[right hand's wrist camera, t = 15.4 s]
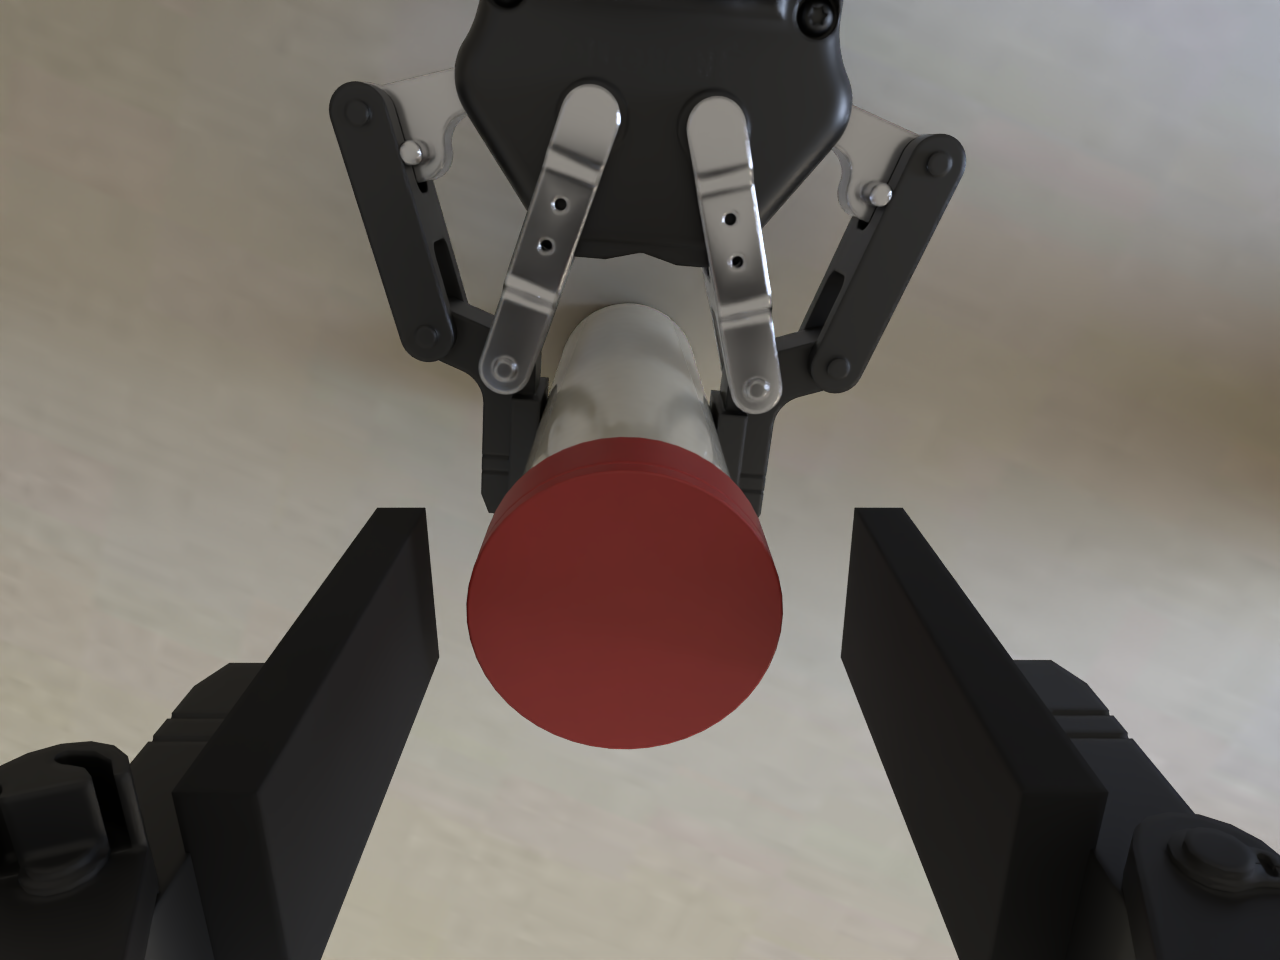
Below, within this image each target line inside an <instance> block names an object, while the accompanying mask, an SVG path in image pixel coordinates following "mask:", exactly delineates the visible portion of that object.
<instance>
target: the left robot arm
mask: <svg viewBox="0 0 1280 960" xmlns="http://www.w3.org/2000/svg"><path fill="white" fill-rule="evenodd" d="M842 5H843V0H480V1H479V5H478V9H477V13H476V16H475V19H474V22H473V24H472V26H471V29H470V31H469V33H468V34H467V36H466V38H465V40H464V41H463V43H462V45H461V47H460V49H459V51H458V54H457V58H456V62H455V68H451V69H447V70H443V71H439V72H434V73H430V74H426V75H422V76H418V77H414V78H410V79H406V80H402V81H397V82H393V83H389V84H385V85H378V84H374V83H369V82H357V81H354V82H348V83H345V84H343V85H341V86H340V87H338V89H337V90H336V91H335V92H334V94H333V95H332V97H331V100H330V104H329V114H330V119H331V122H332V125H333V128H334V132H335V135H336V138H337V141H338V144H339V147H340V150H341V154H342V157H343V160H344V163H345V166H346V169H347V173H348V176H349V179H350V182H351V185H352V188H353V191H354V195H355V198H356V201H357V204H358V207H359V210H360V213H361V217H362V220H363V223H364V226H365V229H366V232H367V235H368V239H369V242H370V245H371V248H372V251H373V254H374V257H375V261H376V264H377V267H378V270H379V273H380V276H381V279H382V283H383V286H384V289H385V292H386V295H387V298H388V302H389V305H390V308H391V311H392V314H393V317H394V320H395V324H396V327H397V330H398V333H399V336H400V339H401V342H402V345H403V347H404V348H405V350H406V351H407V352H408V353H409V354H410V355H411V356H412V357H414V358H415V359H417V360H420V361H424V362H434V361H438V360H439V361H441V362H443V363H446V364H448V365H450V366H453V367H455V368H457V369H459V370H462V371H464V372H466V373H467V374H469V375H470V376H471V377H472V378H473V379H474V380H475V381H476V382H477V384H478V385H479V387H480V389H481V392H482V395H483V442H482V483H481V494H482V497H483V499H484V502H485V504H486V507H487V509H488V512H489V513H495V511H496V509H497V508H498V506H499V504H500V503H501V501H502V500H503V498H504V496H505V495H506V494H507V492H508V491H509V490H510V489H511V488H512V486H513V485H514V484H515V483H516V482H517V481H518V480H519V479H520V478H521V477H522V475H523V472H524V469H525V466H526V463H527V460H528V457H529V454H530V451H531V448H532V445H533V442H534V439H535V436H536V433H537V430H538V427H539V424H540V420H541V417H542V414H543V411H544V408H545V405H546V402H547V399H548V381H549V378H546V377H540V373H541V350H542V347H543V345H544V342H545V339H546V336H547V333H548V331H549V328H550V325H551V322H552V320H553V317H554V314H555V311H556V308H557V306H558V303H559V300H560V297H561V295H562V292H563V289H564V287H565V284H566V281H567V279H568V276H569V273H570V270H571V267H572V265H573V262H574V259H575V257H587V258H599V259H609V258H614V257H619V256H625V255H630V254H636V253H645V254H648V255H650V256H653V257H656V258H658V259H661V260H664V261H667V262H669V263H672V264H675V265H681V266H692V267H702V272H703V277H704V283H705V288H706V293H707V297H708V301H709V306H710V311H711V316H712V322H713V327H714V333H715V339H716V344H717V350H718V355H719V361H720V366H721V371H722V379H721V387H720V391H716V390H711V396H710V405H709V407H710V411H711V414H712V417H713V421H714V424H715V427H716V431H717V434H718V438H719V441H720V444H721V448H722V451H723V454H724V458H725V461H726V464H727V468H728V471H729V474H730V478H731V480H732V481H733V482H734V483H735V484H736V485H737V486H738V487H739V488H740V489H741V491H742V492H743V493H744V495H745V496H746V498H747V499H748V500H749V502H750V503H751V505H752V507H753V509H754V511H755V513H756V515H757V517H759V516H760V514H761V507H762V500H763V491H764V486H765V479H766V478H765V477H766V472H767V465H768V458H769V451H770V444H771V437H772V430H773V424H774V420H775V417H776V415H777V413H778V412H779V410H780V409H781V408H782V407H783V406H784V405H785V404H786V403H788V402H789V401H791V400H793V399H794V398H797V397H801V396H804V395H808V394H812V393H816V392H820V391H826V392H829V393H842V392H845V391H847V390H849V389H851V388H852V387H853V386H855V385H856V384H857V382H858V381H859V379H860V378H861V376H862V374H863V372H864V370H865V368H866V366H867V364H868V362H869V360H870V358H871V356H872V354H873V352H874V350H875V348H876V346H877V344H878V342H879V340H880V338H881V336H882V334H883V332H884V330H885V328H886V326H887V324H888V322H889V320H890V318H891V316H892V314H893V312H894V310H895V308H896V306H897V304H898V302H899V300H900V298H901V296H902V294H903V293H904V291H905V289H906V287H907V285H908V283H909V281H910V279H911V277H912V275H913V273H914V271H915V269H916V267H917V265H918V263H919V261H920V259H921V257H922V255H923V253H924V251H925V249H926V247H927V245H928V243H929V241H930V239H931V237H932V235H933V233H934V231H935V229H936V227H937V225H938V223H939V221H940V219H941V217H942V215H943V213H944V211H945V209H946V207H947V205H948V203H949V201H950V199H951V197H952V195H953V193H954V191H955V189H956V187H957V185H958V183H959V181H960V179H961V177H962V175H963V173H964V170H965V166H966V155H965V151H964V148H963V146H962V145H961V143H960V142H959V141H958V140H957V139H956V138H954V137H952V136H950V135H947V134H921V135H918V134H915V133H913V132H911V131H909V130H907V129H904V128H902V127H900V126H898V125H896V124H893V123H891V122H889V121H887V120H885V119H882V118H880V117H878V116H876V115H874V114H871V113H869V112H867V111H865V110H863V109H860V108H858V107H856V106H854V105H852V90H851V85H850V82H849V79H848V76H847V73H846V71H845V68H844V64H843V61H842V56H841V50H840V40H839V29H840V19H841V12H842ZM466 116H468V117H469V118H470V120H471V121H472V123H473V125H474V126H475V128H476V129H477V131H478V133H479V134H480V136H481V137H482V139H483V141H484V142H485V144H486V146H487V147H488V149H489V150H490V152H491V154H492V155H493V157H494V158H495V160H496V162H497V163H498V165H499V166H500V168H501V170H502V171H503V173H504V174H505V176H506V178H507V179H508V181H509V182H510V184H511V186H512V187H513V189H514V190H515V192H516V194H517V195H518V197H519V198H520V200H521V202H522V203H523V205H524V207H525V208H526V210H527V214H526V217H525V220H524V223H523V226H522V229H521V232H520V235H519V238H518V241H517V244H516V247H515V250H514V253H513V256H512V259H511V262H510V265H509V268H508V271H507V274H506V277H505V281H504V285H503V291H502V295H501V298H500V301H499V304H498V307H497V310H496V313H495V316H494V315H492V314H490V313H488V312H485V311H483V310H481V309H479V308H477V307H474V306H472V305H470V304H468V301H467V298H466V294H465V291H464V287H463V284H462V280H461V277H460V273H459V270H458V266H457V263H456V259H455V256H454V252H453V249H452V245H451V242H450V238H449V235H448V231H447V228H446V224H445V221H444V217H443V214H442V210H441V207H440V203H439V200H438V196H437V193H436V189H435V186H434V182H433V180H435V179H438V178H440V177H442V176H443V175H444V174H445V173H446V172H447V171H448V170H449V168H450V166H451V164H452V160H453V148H452V136H453V132H454V129H455V127H456V126H457V124H458V123H459V122H460V121H461V120H462V119H463V118H465V117H466ZM830 150H832V151H833V152H834V153H835V154H836V155H837V157H838V159H839V161H840V164H841V170H842V174H841V180H840V183H839V186H838V201H839V204H840V206H841V208H842V209H843V210H844V211H845V212H846V213H847V214H848V215H850V216H852V218H851V220H850V222H849V224H848V227H847V229H846V231H845V233H844V235H843V237H842V239H841V241H840V244H839V246H838V248H837V250H836V252H835V254H834V256H833V258H832V261H831V263H830V265H829V267H828V269H827V271H826V273H825V276H824V278H823V280H822V282H821V284H820V286H819V288H818V290H817V293H816V295H815V297H814V299H813V301H812V303H811V305H810V307H809V310H808V312H807V314H806V316H805V318H804V320H803V322H802V325H801V327H800V329H799V331H798V332H795V333H791V334H788V335H784V336H780V337H776V338H775V334H774V328H773V322H772V298H771V291H770V284H769V278H768V271H767V265H766V258H765V252H764V245H763V239H762V232H761V229H762V228H763V227H764V226H765V224H766V223H767V222H768V221H769V220H770V219H771V218H772V216H773V215H774V214H775V213H776V212H777V211H778V210H779V208H780V207H781V206H782V205H783V204H784V203H785V202H786V200H787V199H788V198H789V197H790V196H791V195H792V194H793V193H794V191H795V190H796V189H797V188H798V187H799V186H800V185H801V183H802V182H803V181H804V180H805V179H806V178H807V177H808V175H809V174H810V173H811V172H812V171H813V170H814V169H815V168H816V166H817V165H818V164H819V163H820V162H821V161H822V160H823V158H824V157H825V156H826V155H827V154H828V153H829V152H830Z"/></svg>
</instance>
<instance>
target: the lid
mask: <svg viewBox="0 0 1280 960" xmlns="http://www.w3.org/2000/svg"><path fill="white" fill-rule="evenodd" d="M466 606H467V625H468V630H469V636H470V641H471V644H472V647H473V650H474V652H475V655H476V658H477V660H478V662H479V664H480V666H481V668H482V670H483V672H484V674H485V676H486V677H487V678H488V680H489V681H490V683H491V684H492V686H493V687H494V689H495V690H496V691H497V692H498V693H499V694H500V696H501V697H502V698H503V699H504V700H505V701H506V702H507V703H508V704H509V705H510V706H511V707H512V708H514V709H515V710H516V711H517V712H518V713H519V714H521V715H522V716H523V717H525V718H526V719H528V720H529V721H531V722H532V723H534V724H535V725H537V726H538V727H540V728H542V729H544V730H546V731H548V732H550V733H552V734H554V735H557V736H559V737H562V738H565V739H567V740H570V741H573V742H577V743H581V744H585V745H589V746H594V747H602V748H609V749H638V748H649V747H655V746H660V745H665V744H669V743H673V742H676V741H679V740H682V739H685V738H688V737H690V736H692V735H695V734H697V733H699V732H702V731H704V730H706V729H707V728H709V727H711V726H712V725H714V724H716V723H717V722H719V721H721V720H722V719H723V718H725V717H726V716H727V715H729V714H730V713H731V712H733V711H734V710H735V709H736V708H737V707H738V706H739V705H740V704H741V703H742V702H743V701H744V700H745V699H746V698H747V697H748V696H749V695H750V694H751V693H752V691H753V690H754V689H755V688H756V686H757V685H758V684H759V682H760V681H761V679H762V677H763V676H764V674H765V672H766V671H767V669H768V667H769V665H770V663H771V661H772V658H773V656H774V653H775V651H776V648H777V645H778V641H779V637H780V633H781V626H782V617H783V604H782V592H781V587H780V581H779V576H778V574H777V571H776V568H775V565H774V562H773V559H772V556H771V553H770V550H769V547H768V544H767V541H766V538H765V536H764V533H763V530H762V527H761V524H760V521H759V519H758V517H757V515H756V513H755V511H754V509H753V507H752V505H751V503H750V502H749V500H748V499H747V498H746V496H745V495H744V493H743V492H742V491H741V489H740V488H739V487H738V486H737V485H736V484H735V483H734V482H733V481H732V480H731V479H730V478H729V476H728V475H726V474H725V473H724V472H723V471H721V470H720V469H719V468H718V467H716V466H715V465H714V464H713V463H711V462H709V461H708V460H706V459H704V458H703V457H701V456H699V455H698V454H696V453H693V452H691V451H689V450H687V449H684V448H682V447H680V446H677V445H673V444H670V443H667V442H663V441H660V440H653V439H647V438H641V437H612V438H601V439H597V440H592V441H587V442H583V443H580V444H577V445H574V446H571V447H568V448H566V449H563V450H561V451H559V452H557V453H555V454H553V455H551V456H549V457H547V458H546V459H544V460H543V461H541V462H540V463H538V464H537V465H535V466H534V467H532V468H531V469H530V470H529V471H528V472H526V473H525V474H524V475H523V476H522V477H521V478H520V479H519V480H518V481H517V482H516V483H515V484H514V485H513V486H512V488H511V489H510V490H509V491H508V492H507V494H506V495H505V496H504V498H503V500H502V501H501V503H500V504H499V506H498V508H497V509H496V511H495V513H494V516H493V518H492V520H491V522H490V525H489V527H488V530H487V533H486V535H485V538H484V541H483V543H482V546H481V549H480V551H479V554H478V557H477V559H476V562H475V565H474V568H473V571H472V575H471V579H470V582H469V586H468V595H467V603H466Z"/></svg>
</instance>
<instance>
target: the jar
mask: <svg viewBox="0 0 1280 960" xmlns="http://www.w3.org/2000/svg"><path fill="white" fill-rule="evenodd" d="M612 437H641V438H647V439H653V440H660V441H663V442H667V443H670V444H673V445H677V446H680V447H682V448H684V449H687V450H689V451H691V452H693V453H696V454H698V455H699V456H701V457H703V458H704V459H706V460H708V461H709V462H711V463H713V464H714V465H715V466H716V467H718V468H719V469H720V470H721V471H723V472H724V473H725V474H726V475H728V476H729V478H730V474H729V471H728V468H727V464H726V461H725V458H724V454H723V451H722V448H721V444H720V441H719V438H718V434H717V431H716V427H715V424H714V421H713V417H712V414H711V411H710V407H709V404H708V401H707V397H706V394H705V391H704V387H703V384H702V381H701V377H700V374H699V371H698V367H697V364H696V361H695V357H694V354H693V351H692V348H691V345H690V343H689V341H688V339H687V337H686V335H685V334H684V332H683V331H682V329H681V328H680V327H679V326H678V325H677V324H676V323H675V322H674V321H673V320H672V319H671V318H670V317H668V316H667V315H665V314H664V313H662V312H660V311H658V310H656V309H654V308H651V307H648V306H645V305H640V304H632V303H623V304H615V305H611V306H607V307H604V308H602V309H599V310H597V311H596V312H594V313H592V314H590V315H589V316H588V317H586V318H585V319H584V320H583V321H582V322H581V323H579V324H578V326H577V327H576V328H575V329H574V330H573V332H572V333H571V335H570V337H569V338H568V340H567V343H566V345H565V347H564V350H563V353H562V356H561V359H560V362H559V365H558V369H557V372H556V375H555V378H554V381H553V384H552V387H551V390H550V393H549V396H548V399H547V402H546V405H545V408H544V411H543V414H542V417H541V420H540V424H539V427H538V430H537V433H536V436H535V439H534V442H533V445H532V448H531V451H530V454H529V457H528V460H527V463H526V466H525V469H524V472H523V475H524V474H525V473H526V472H528V471H529V470H530V469H531V468H532V467H534V466H535V465H537V464H538V463H540V462H541V461H543V460H544V459H546V458H547V457H549V456H551V455H553V454H555V453H557V452H559V451H561V450H563V449H566V448H568V447H571V446H574V445H577V444H580V443H583V442H587V441H592V440H597V439H601V438H612ZM523 475H522V476H523ZM730 479H731V478H730Z"/></svg>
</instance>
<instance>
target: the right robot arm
mask: <svg viewBox="0 0 1280 960" xmlns="http://www.w3.org/2000/svg"><path fill="white" fill-rule="evenodd" d="M438 659H439V650H438V639H437V628H436V618H435V607H434V596H433V585H432V574H431V564H430V553H429V542H428V531H427V520H426V510H425V508H377V509H376V510H375V512H374V513H373V514H372V516H371V517H370V519H369V520H368V521H367V523H366V524H365V525H364V527H363V528H362V530H361V531H360V532H359V534H358V535H357V537H356V538H355V539H354V541H353V542H352V543H351V545H350V546H349V548H348V549H347V550H346V552H345V553H344V554H343V556H342V557H341V559H340V560H339V561H338V563H337V564H336V566H335V567H334V568H333V570H332V571H331V572H330V574H329V575H328V577H327V578H326V579H325V581H324V582H323V583H322V585H321V586H320V588H319V589H318V590H317V592H316V593H315V595H314V596H313V597H312V599H311V600H310V601H309V603H308V604H307V606H306V607H305V608H304V610H303V611H302V612H301V614H300V615H299V617H298V618H297V619H296V621H295V622H294V624H293V625H292V626H291V628H290V629H289V630H288V632H287V633H286V635H285V636H284V637H283V639H282V640H281V641H280V643H279V644H278V646H277V647H276V648H275V650H274V651H273V653H272V654H271V655H270V657H269V658H268V659H267V661H266V662H265V663H229V664H227V665H226V666H224V667H222V668H221V669H219V670H218V671H216V672H215V673H213V674H212V675H210V676H209V677H207V678H206V679H204V680H203V681H201V682H200V683H198V684H197V685H195V686H194V687H193V688H192V689H191V690H190V692H189V693H188V694H187V695H186V697H185V698H184V699H183V700H182V701H181V703H180V704H179V705H178V706H177V707H176V709H175V710H174V711H173V712H172V717H171V719H167V720H166V721H165V722H164V723H163V724H162V726H161V727H160V728H159V729H158V731H157V732H156V733H155V734H154V735H153V741H152V742H148V743H147V744H146V745H145V746H144V747H143V749H142V750H141V751H140V752H139V754H138V755H137V756H136V757H135V758H134V760H133V761H132V762H131V763H129V759H128V756H127V755H126V754H124V753H123V752H122V751H121V750H119V749H118V748H117V747H116V746H114V745H109V744H103V743H98V742H93V741H88V742H76V743H65V744H59V745H55V746H51V747H48V748H44V749H41V750H37V751H34V752H30V753H27V754H25V755H23V756H20V757H18V758H16V759H14V760H12V761H10V762H8V763H5V764H3V765H1V766H0V960H321V958H322V955H323V952H324V950H325V947H326V945H327V942H328V940H329V937H330V935H331V932H332V929H333V927H334V924H335V922H336V919H337V917H338V914H339V912H340V909H341V906H342V904H343V901H344V899H345V896H346V894H347V891H348V889H349V886H350V884H351V881H352V878H353V876H354V873H355V871H356V868H357V866H358V863H359V861H360V858H361V855H362V853H363V850H364V848H365V845H366V843H367V840H368V838H369V835H370V833H371V830H372V827H373V825H374V822H375V820H376V817H377V815H378V812H379V810H380V807H381V804H382V802H383V799H384V797H385V794H386V792H387V789H388V787H389V784H390V781H391V779H392V776H393V774H394V771H395V769H396V766H397V764H398V761H399V759H400V756H401V753H402V751H403V748H404V746H405V743H406V741H407V738H408V736H409V733H410V730H411V728H412V725H413V723H414V720H415V718H416V715H417V713H418V710H419V708H420V705H421V702H422V700H423V697H424V695H425V692H426V690H427V687H428V685H429V682H430V679H431V677H432V674H433V672H434V669H435V667H436V664H437V662H438ZM841 659H842V662H843V664H844V667H845V669H846V672H847V674H848V677H849V679H850V682H851V685H852V687H853V690H854V692H855V695H856V697H857V700H858V702H859V705H860V708H861V710H862V713H863V715H864V718H865V720H866V723H867V725H868V728H869V730H870V733H871V736H872V738H873V741H874V743H875V746H876V748H877V751H878V753H879V756H880V759H881V761H882V764H883V766H884V769H885V771H886V774H887V776H888V779H889V781H890V784H891V787H892V789H893V792H894V794H895V797H896V799H897V802H898V804H899V807H900V810H901V812H902V815H903V817H904V820H905V822H906V825H907V827H908V830H909V833H910V835H911V838H912V840H913V843H914V845H915V848H916V850H917V853H918V855H919V858H920V861H921V863H922V866H923V868H924V871H925V873H926V876H927V878H928V881H929V884H930V886H931V889H932V891H933V894H934V896H935V899H936V901H937V904H938V907H939V909H940V912H941V914H942V917H943V919H944V922H945V924H946V927H947V929H948V932H949V935H950V937H951V940H952V942H953V945H954V947H955V950H956V952H957V955H958V958H959V960H1280V855H1279V854H1278V853H1276V852H1275V851H1274V850H1273V849H1271V848H1270V847H1269V846H1268V845H1266V844H1265V843H1264V842H1263V841H1261V840H1260V839H1258V838H1256V837H1254V836H1252V835H1250V834H1248V833H1246V832H1244V831H1243V830H1241V829H1239V828H1237V827H1235V826H1233V825H1231V824H1228V823H1225V822H1222V821H1218V820H1215V819H1212V818H1209V817H1206V816H1203V815H1199V814H1195V813H1194V812H1193V811H1192V810H1191V809H1190V807H1189V806H1188V805H1187V804H1186V803H1185V801H1184V800H1183V799H1182V798H1181V796H1180V795H1179V794H1178V793H1177V792H1176V790H1175V789H1174V788H1173V787H1172V786H1171V784H1170V783H1169V782H1168V781H1167V780H1166V778H1165V777H1164V776H1163V775H1162V774H1161V772H1160V771H1159V770H1158V769H1157V768H1156V766H1155V765H1154V764H1153V763H1152V762H1151V760H1150V759H1149V758H1148V757H1147V756H1146V754H1145V753H1144V752H1143V751H1142V749H1141V748H1140V747H1139V746H1138V745H1137V743H1136V742H1135V741H1134V740H1133V739H1129V738H1128V733H1127V731H1126V730H1125V729H1124V728H1123V727H1122V725H1121V724H1120V723H1119V722H1118V721H1117V719H1116V718H1115V717H1114V716H1110V715H1109V710H1108V709H1107V707H1106V706H1105V705H1104V704H1103V702H1102V701H1101V700H1100V699H1099V698H1098V696H1097V695H1096V694H1095V693H1094V692H1093V690H1092V689H1091V688H1090V687H1089V686H1088V684H1087V683H1085V682H1084V681H1082V680H1081V679H1079V678H1078V677H1076V676H1075V675H1073V674H1072V673H1070V672H1069V671H1067V670H1065V669H1064V668H1062V667H1061V666H1059V665H1058V664H1056V663H1055V662H1053V661H1052V660H1013V659H1012V658H1011V657H1010V655H1009V654H1008V653H1007V651H1006V650H1005V648H1004V647H1003V646H1002V644H1001V643H1000V641H999V640H998V639H997V637H996V636H995V635H994V633H993V632H992V630H991V629H990V628H989V626H988V625H987V624H986V622H985V621H984V619H983V618H982V617H981V615H980V614H979V612H978V611H977V610H976V608H975V607H974V606H973V604H972V603H971V601H970V600H969V599H968V597H967V596H966V595H965V593H964V592H963V590H962V589H961V588H960V586H959V585H958V583H957V582H956V581H955V579H954V578H953V577H952V575H951V574H950V572H949V571H948V570H947V568H946V567H945V566H944V564H943V563H942V561H941V560H940V559H939V557H938V556H937V554H936V553H935V552H934V550H933V549H932V548H931V546H930V545H929V543H928V542H927V541H926V539H925V538H924V537H923V535H922V534H921V532H920V531H919V530H918V528H917V527H916V525H915V524H914V523H913V521H912V520H911V519H910V517H909V516H908V514H907V513H906V512H905V510H904V509H903V508H855V510H854V520H853V531H852V542H851V553H850V564H849V574H848V585H847V596H846V607H845V617H844V628H843V639H842V650H841Z"/></svg>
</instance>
